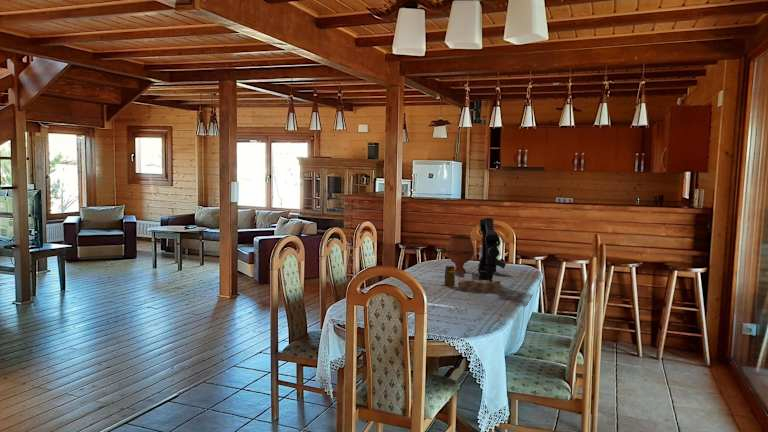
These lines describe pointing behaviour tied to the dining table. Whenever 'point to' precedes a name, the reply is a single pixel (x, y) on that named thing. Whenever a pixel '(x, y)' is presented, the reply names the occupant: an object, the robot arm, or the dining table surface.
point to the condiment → (449, 277)
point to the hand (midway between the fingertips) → (490, 281)
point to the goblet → (460, 251)
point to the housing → (479, 286)
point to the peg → (467, 277)
